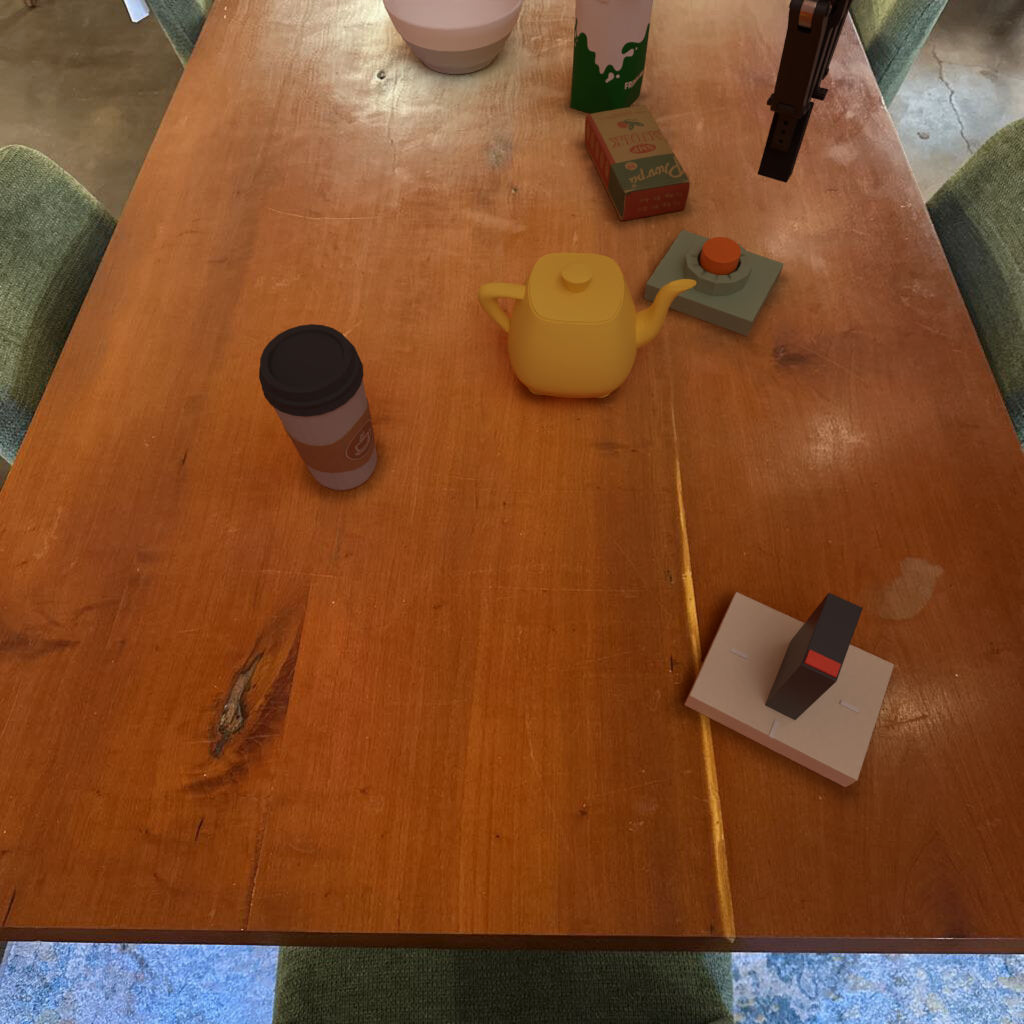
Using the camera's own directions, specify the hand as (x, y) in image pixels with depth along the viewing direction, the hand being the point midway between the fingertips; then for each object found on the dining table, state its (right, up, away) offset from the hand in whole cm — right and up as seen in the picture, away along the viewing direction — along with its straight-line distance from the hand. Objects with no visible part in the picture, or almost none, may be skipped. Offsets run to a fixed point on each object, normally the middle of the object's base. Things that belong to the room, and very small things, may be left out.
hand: (774, 173), depth 68 cm
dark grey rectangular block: (-2, -43, -10) cm, 44 cm away
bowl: (-31, +36, +42) cm, 64 cm away
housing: (-1, -6, +16) cm, 17 cm away
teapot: (-17, -15, +11) cm, 25 cm away
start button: (-2, -4, +13) cm, 14 cm away
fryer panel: (-2, -45, -7) cm, 45 cm away
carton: (-9, +11, +27) cm, 30 cm away
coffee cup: (-40, -26, +5) cm, 48 cm away
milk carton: (-11, +25, +35) cm, 45 cm away
